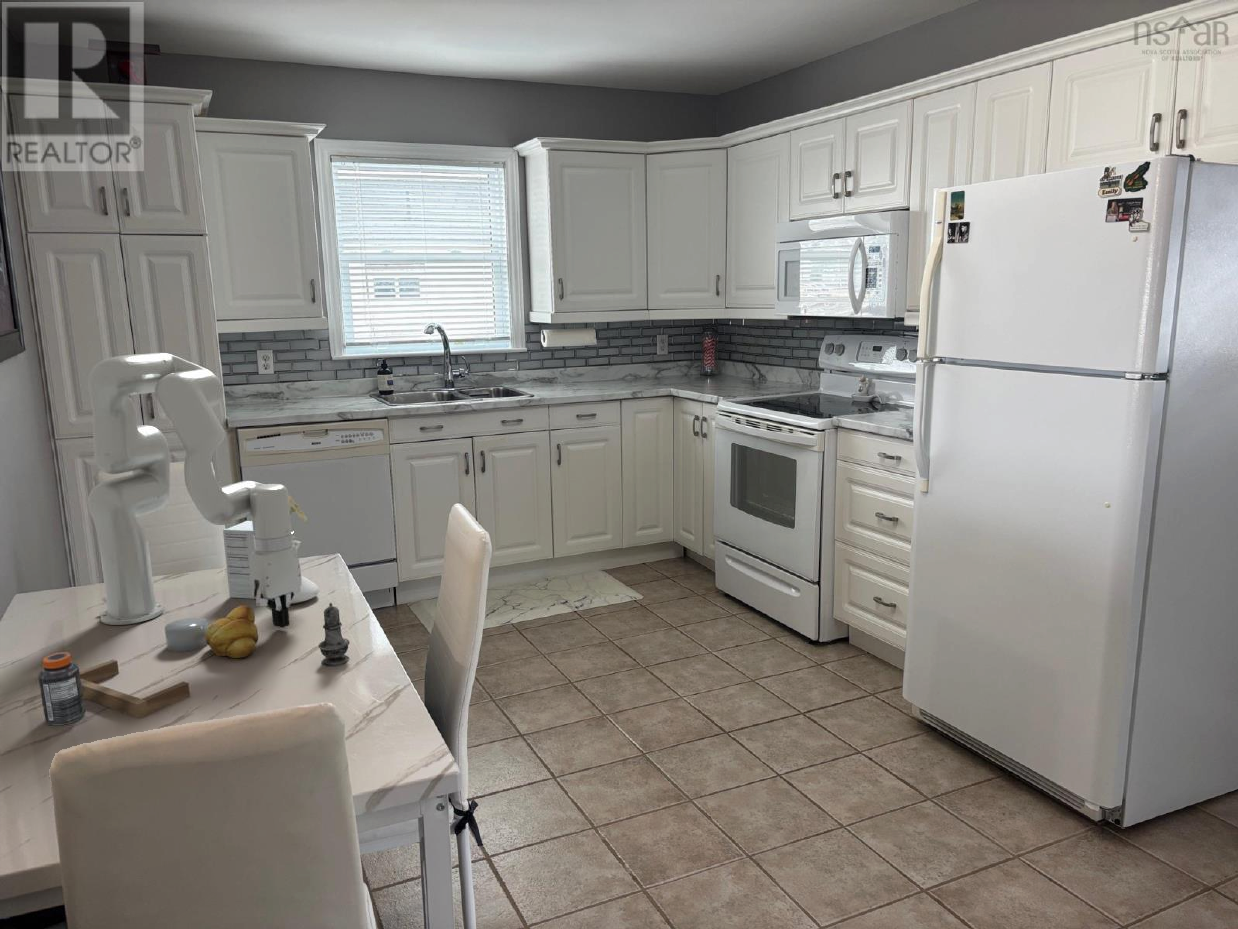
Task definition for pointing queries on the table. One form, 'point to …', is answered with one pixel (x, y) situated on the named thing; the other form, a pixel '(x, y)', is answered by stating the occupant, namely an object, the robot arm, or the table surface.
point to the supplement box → (239, 558)
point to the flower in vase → (307, 586)
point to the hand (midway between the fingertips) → (281, 625)
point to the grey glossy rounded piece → (186, 634)
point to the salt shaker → (333, 639)
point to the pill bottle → (61, 690)
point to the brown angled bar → (124, 700)
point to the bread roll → (234, 633)
